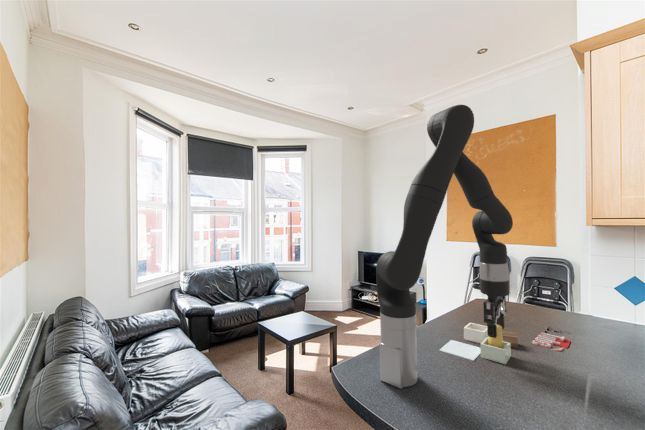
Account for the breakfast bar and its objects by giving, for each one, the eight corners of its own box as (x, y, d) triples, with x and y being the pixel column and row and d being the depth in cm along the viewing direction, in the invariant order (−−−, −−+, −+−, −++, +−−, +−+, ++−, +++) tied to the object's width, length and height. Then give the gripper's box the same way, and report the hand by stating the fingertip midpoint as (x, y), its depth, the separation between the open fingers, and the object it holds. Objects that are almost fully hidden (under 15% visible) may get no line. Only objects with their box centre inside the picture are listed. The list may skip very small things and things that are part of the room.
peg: (501, 360, 84) (500, 329, 84) (487, 356, 86) (486, 326, 86) (504, 356, 86) (503, 325, 87) (490, 352, 89) (489, 323, 89)
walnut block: (517, 350, 92) (517, 337, 92) (503, 348, 93) (502, 335, 93) (515, 345, 95) (515, 332, 95) (501, 343, 97) (500, 331, 97)
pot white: (484, 346, 95) (484, 332, 95) (464, 340, 99) (463, 327, 99) (490, 340, 99) (490, 326, 99) (470, 335, 104) (469, 322, 104)
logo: (543, 321, 111) (578, 329, 104) (543, 326, 111) (578, 334, 104) (523, 341, 95) (562, 351, 87) (523, 346, 95) (562, 357, 87)
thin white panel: (473, 363, 84) (473, 360, 84) (439, 352, 91) (439, 349, 91) (484, 351, 91) (483, 348, 91) (451, 342, 98) (451, 339, 98)
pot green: (505, 366, 82) (505, 350, 82) (480, 359, 86) (480, 343, 86) (511, 358, 86) (510, 342, 86) (487, 351, 91) (486, 337, 91)
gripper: (502, 283, 79) (504, 344, 79) (514, 275, 89) (516, 328, 89) (472, 280, 84) (474, 336, 84) (487, 272, 94) (489, 322, 94)
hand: (496, 332), depth 86 cm, fingers open, 8 cm apart
